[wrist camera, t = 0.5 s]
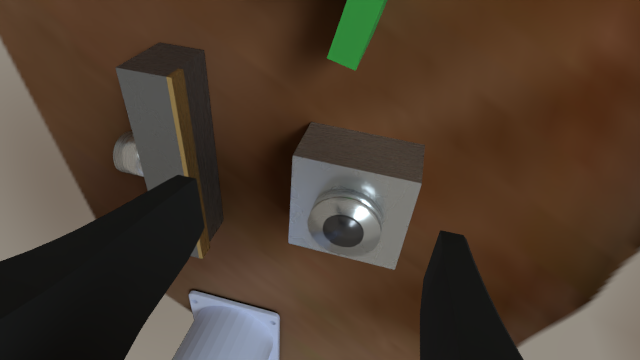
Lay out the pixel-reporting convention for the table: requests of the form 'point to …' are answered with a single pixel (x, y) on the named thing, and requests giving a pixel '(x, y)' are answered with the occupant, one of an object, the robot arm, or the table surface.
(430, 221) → the table surface
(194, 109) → the end block
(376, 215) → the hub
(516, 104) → the table surface
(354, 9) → the pipe clamp
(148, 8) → the table surface
